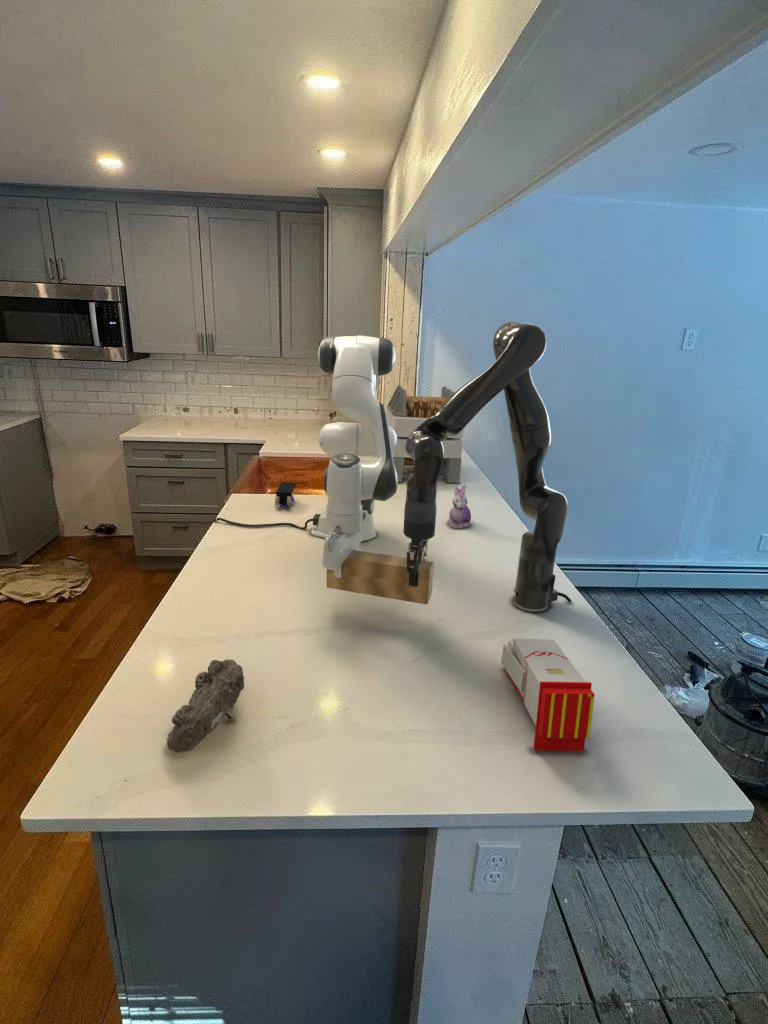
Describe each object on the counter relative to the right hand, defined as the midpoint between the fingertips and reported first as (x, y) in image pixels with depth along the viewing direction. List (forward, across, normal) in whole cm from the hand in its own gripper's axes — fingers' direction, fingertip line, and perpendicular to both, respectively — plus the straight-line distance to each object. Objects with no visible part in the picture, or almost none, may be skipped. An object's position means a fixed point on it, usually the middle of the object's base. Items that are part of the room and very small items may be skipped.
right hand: (415, 580), depth 140 cm
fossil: (+12, -47, +28) cm, 56 cm away
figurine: (+12, +74, 0) cm, 75 cm away
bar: (+5, 0, +9) cm, 11 cm away
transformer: (+12, +137, +29) cm, 140 cm away
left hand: (+1, 0, +19) cm, 19 cm away
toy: (+12, -22, -31) cm, 40 cm away
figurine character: (+12, +69, +68) cm, 97 cm away
